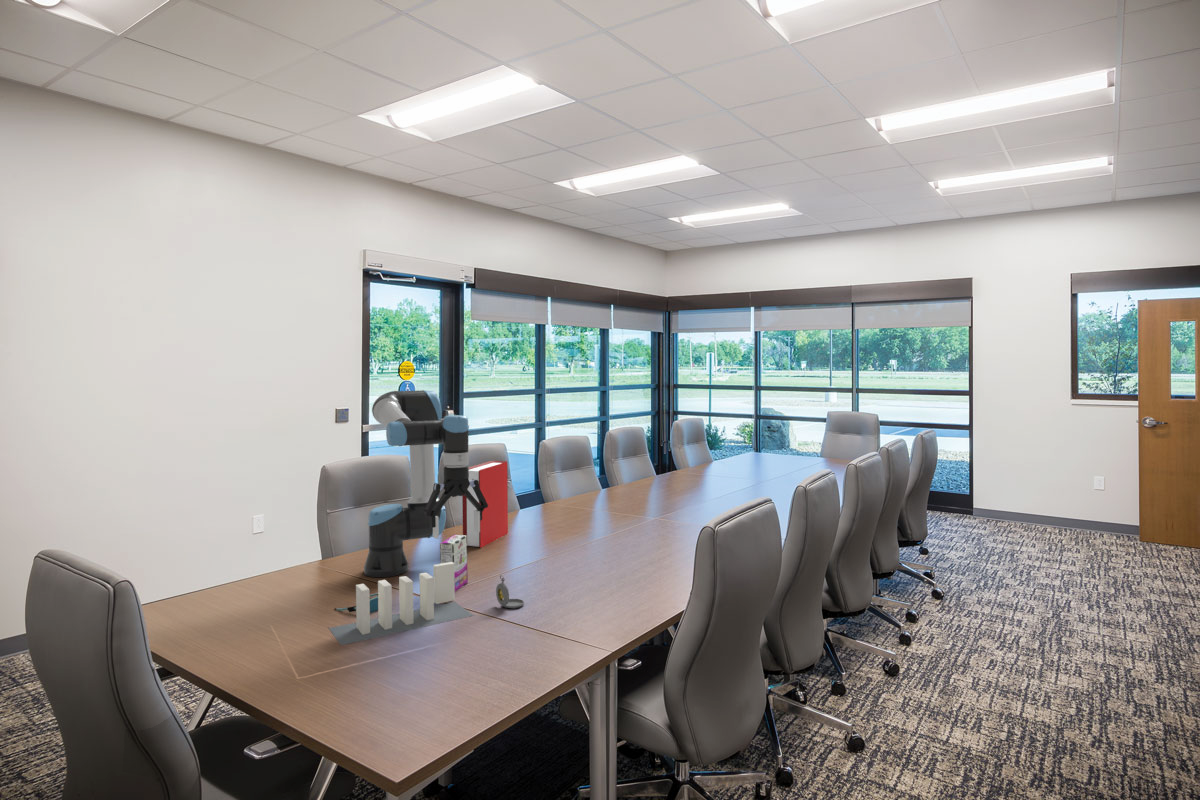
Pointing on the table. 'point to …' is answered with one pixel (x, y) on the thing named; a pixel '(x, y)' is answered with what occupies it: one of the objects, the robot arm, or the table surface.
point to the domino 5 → (444, 582)
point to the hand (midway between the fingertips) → (456, 534)
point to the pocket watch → (506, 596)
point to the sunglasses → (372, 605)
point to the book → (496, 496)
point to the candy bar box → (456, 557)
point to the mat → (399, 624)
